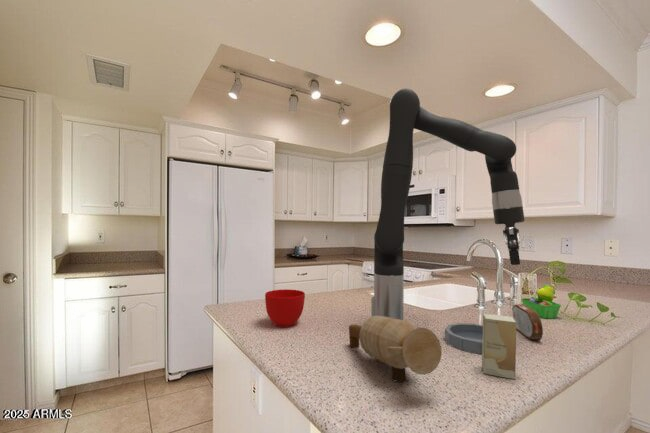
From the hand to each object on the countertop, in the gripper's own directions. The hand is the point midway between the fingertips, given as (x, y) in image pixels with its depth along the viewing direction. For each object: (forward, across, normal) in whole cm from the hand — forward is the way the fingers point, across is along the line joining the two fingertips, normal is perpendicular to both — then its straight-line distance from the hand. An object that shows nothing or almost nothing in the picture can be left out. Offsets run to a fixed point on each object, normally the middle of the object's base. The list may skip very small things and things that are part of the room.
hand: (515, 262), depth 89 cm
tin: (+23, -8, 0) cm, 24 cm away
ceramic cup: (+15, +21, -69) cm, 74 cm away
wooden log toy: (+18, +37, -28) cm, 50 cm away
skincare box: (+21, +26, -6) cm, 34 cm away
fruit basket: (+24, -37, +7) cm, 45 cm away
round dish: (+21, +8, -12) cm, 25 cm away
